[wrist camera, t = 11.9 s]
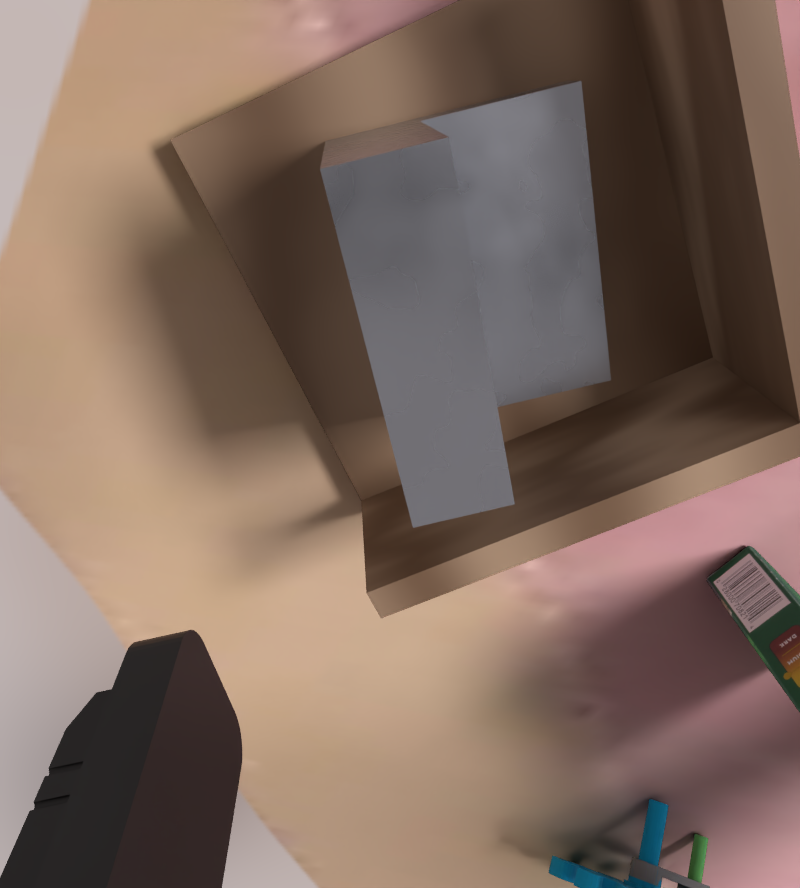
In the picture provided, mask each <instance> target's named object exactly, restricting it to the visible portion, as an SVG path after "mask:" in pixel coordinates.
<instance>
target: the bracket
mask: <svg viewBox="0 0 800 888" xmlns="http://www.w3.org/2000/svg"><path fill="white" fill-rule="evenodd" d="M320 171H321V175H322V179H323V182H324V186H325V190H326V194H327V198H328V202H329V206H330V209H331V213H332V217H333V221H334V225H335V229H336V233H337V236H338V240H339V244H340V248H341V252H342V256H343V260H344V263H345V267H346V271H347V275H348V279H349V283H350V287H351V291H352V294H353V298H354V302H355V306H356V310H357V314H358V318H359V321H360V325H361V329H362V333H363V337H364V341H365V345H366V348H367V352H368V356H369V360H370V364H371V368H372V372H373V375H374V379H375V383H376V387H377V391H378V395H379V399H380V402H381V406H382V410H383V414H384V418H385V422H386V426H387V429H388V433H389V437H390V441H391V445H392V449H393V453H394V456H395V460H396V464H397V468H398V472H399V476H400V480H401V483H402V487H403V491H404V495H405V499H406V503H407V507H408V511H409V514H410V518H411V522H412V526H413V528H415V527H419V526H423V525H428V524H432V523H436V522H440V521H445V520H449V519H453V518H458V517H462V516H466V515H471V514H475V513H479V512H484V511H488V510H492V509H497V508H501V507H505V506H510V505H514V504H515V502H514V497H513V491H512V486H511V480H510V474H509V469H508V463H507V458H506V452H505V447H504V441H503V435H502V430H501V424H500V419H499V413H498V408H497V407H500V406H504V405H509V404H513V403H517V402H521V401H525V400H530V399H534V398H538V397H542V396H547V395H551V394H555V393H559V392H564V391H568V390H572V389H576V388H581V387H585V386H589V385H593V384H597V383H602V382H606V381H610V380H611V374H610V364H609V354H608V344H607V334H606V324H605V314H604V304H603V293H602V283H601V273H600V263H599V253H598V243H597V233H596V223H595V213H594V203H593V193H592V183H591V173H590V163H589V153H588V143H587V132H586V122H585V112H584V102H583V92H582V82H581V81H564V82H560V83H556V84H552V85H548V86H544V87H540V88H536V89H532V90H528V91H524V92H520V93H516V94H512V95H508V96H504V97H500V98H496V99H492V100H488V101H484V102H480V103H476V104H472V105H468V106H464V107H460V108H456V109H452V110H448V111H444V112H440V113H436V114H432V115H428V116H424V117H420V118H416V119H412V120H408V121H404V122H400V123H396V124H392V125H388V126H384V127H380V128H376V129H372V130H368V131H364V132H360V133H356V134H352V135H348V136H344V137H340V138H336V139H332V140H328V141H325V145H324V151H323V156H322V161H321V167H320Z"/></svg>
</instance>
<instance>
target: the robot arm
mask: <svg viewBox="0 0 800 888" xmlns="http://www.w3.org/2000/svg"><path fill="white" fill-rule="evenodd" d="M241 765H242V740H241V733H240V727H239V723H238V720H237V716H236V714H235V711H234V709H233V707H232V705H231V702H230V700H229V698H228V696H227V693H226V691H225V689H224V687H223V685H222V682H221V680H220V678H219V676H218V673H217V671H216V669H215V667H214V665H213V662H212V660H211V658H210V656H209V653H208V651H207V649H206V647H205V645H204V642H203V640H202V639H201V637H200V636H199V634H198V633H197V632H195V631H194V630H189V631H184V632H179V633H175V634H170V635H166V636H161V637H156V638H152V639H147V640H143V641H138V642H135V643H133V644H132V645H131V646H130V647H129V648H128V650H127V652H126V655H125V657H124V660H123V662H122V665H121V667H120V670H119V673H118V675H117V678H116V680H115V683H114V685H113V688H112V689H111V690H106V691H102V692H97V693H96V694H95V695H94V696H93V698H92V699H91V700H90V701H89V702H88V703H87V705H86V706H85V707H84V708H83V709H82V711H81V712H80V713H79V714H78V715H77V717H76V718H75V719H74V720H73V721H72V722H71V724H70V725H69V726H68V727H67V728H66V730H65V732H64V735H63V737H62V739H61V742H60V744H59V746H58V748H57V750H56V753H55V755H54V757H53V760H52V762H51V764H50V766H49V776H45V778H44V780H43V782H42V784H41V787H40V789H39V791H38V793H37V796H36V798H35V800H34V804H35V808H34V810H32V811H30V812H29V814H28V816H27V818H26V821H25V823H24V825H23V827H22V830H21V832H20V834H19V836H18V839H17V841H16V843H15V846H14V848H13V850H12V852H11V855H10V857H9V859H8V861H7V864H6V866H5V868H4V871H3V873H2V875H1V877H0V888H222V882H223V876H224V870H225V864H226V858H227V852H228V846H229V839H230V833H231V827H232V821H233V815H234V808H235V802H236V796H237V790H238V784H239V778H240V772H241Z"/></svg>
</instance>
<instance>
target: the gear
mask: <svg viewBox="0 0 800 888" xmlns="http://www.w3.org/2000/svg"><path fill="white" fill-rule="evenodd" d="M668 807H669V806H668V805H666V804H664V803H661V802H659V801H655V800H652V799H650V800H649V805H648V810H647V816H646V821H645V826H644V832H643V837H642V842H641V848H640V853H639V858H638V859H637V858H634V857H632V862H631V868H630V873H629V878H628V880H625V879H624V882H623V881H620V880H618V879H616V878H613V877H611V876H608V875H605V874H603V873H600V872H596V871H593V870H591V869H588V868H586V867H584V866H581V865H578V864H576V863H573V862H570V861H566V860H563V859H561V858H558V857H556V856H552V860H551V864H550V869H549V873H550V874H552V875H554V876H556V877H558V878H561V879H563V880H566V881H568V882H571V883H574V885H575V886H577V887H579V888H661V882H662V877H663V878H666V879H669V880H671V881H674V882H677V883H678V886H677V888H710V886H707V885H704V884H702V883H701V882H702V876H703V869H704V863H705V856H706V850H707V843H708V838H706V837H703V836H700V835H697V834H695V835H694V841H693V847H692V854H691V860H690V866H689V872H688V878H686V877H684V876H681V875H679V874H676V873H674V872H671V871H668V870H666V869H663V868H661V867H658V863H659V858H660V852H661V846H662V841H663V835H664V829H665V824H666V818H667V812H668Z"/></svg>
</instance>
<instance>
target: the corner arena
mask: <svg viewBox="0 0 800 888" xmlns="http://www.w3.org/2000/svg"><path fill="white" fill-rule="evenodd" d="M564 81H581V82H582V92H583V102H584V112H585V122H586V132H587V143H588V153H589V163H590V173H591V183H592V193H593V203H594V213H595V223H596V233H597V243H598V253H599V263H600V273H601V283H602V293H603V304H604V314H605V324H606V334H607V344H608V354H609V364H610V374H611V380H610V381H606V382H602V383H597V384H593V385H589V386H585V387H581V388H576V389H572V390H568V391H564V392H559V393H555V394H551V395H547V396H542V397H538V398H534V399H530V400H525V401H521V402H517V403H513V404H509V405H504V406H500V407H497V408H498V413H499V419H500V424H501V430H502V435H503V441H504V447H505V452H506V458H507V463H508V469H509V474H510V480H511V486H512V491H513V497H514V502H515V504H514V505H510V506H505V507H501V508H497V509H492V510H488V511H484V512H479V513H475V514H471V515H466V516H462V517H458V518H453V519H449V520H445V521H440V522H436V523H432V524H428V525H423V526H419V527H415V528H413V526H412V522H411V518H410V514H409V511H408V507H407V503H406V499H405V495H404V491H403V487H402V483H401V480H400V476H399V472H398V468H397V464H396V460H395V456H394V453H393V449H392V445H391V441H390V437H389V433H388V429H387V426H386V422H385V418H384V414H383V410H382V406H381V402H380V399H379V395H378V391H377V387H376V383H375V379H374V375H373V372H372V368H371V364H370V360H369V356H368V352H367V348H366V345H365V341H364V337H363V333H362V329H361V325H360V321H359V318H358V314H357V310H356V306H355V302H354V298H353V294H352V291H351V287H350V283H349V279H348V275H347V271H346V267H345V263H344V260H343V256H342V252H341V248H340V244H339V240H338V236H337V233H336V229H335V225H334V221H333V217H332V213H331V209H330V206H329V202H328V198H327V194H326V190H325V186H324V182H323V179H322V175H321V171H320V167H321V161H322V156H323V151H324V145H325V141H328V140H332V139H336V138H340V137H344V136H348V135H352V134H356V133H360V132H364V131H368V130H372V129H376V128H380V127H384V126H388V125H392V124H396V123H400V122H404V121H408V120H412V119H416V118H420V117H424V116H428V115H432V114H436V113H440V112H444V111H448V110H452V109H456V108H460V107H464V106H468V105H472V104H476V103H480V102H484V101H488V100H492V99H496V98H500V97H504V96H508V95H512V94H516V93H520V92H524V91H528V90H532V89H536V88H540V87H544V86H548V85H552V84H556V83H560V82H564ZM171 142H172V144H173V146H174V148H175V150H176V152H177V154H178V156H179V157H180V159H181V161H182V163H183V165H184V167H185V169H186V171H187V173H188V174H189V176H190V178H191V180H192V182H193V184H194V186H195V188H196V190H197V191H198V193H199V195H200V197H201V199H202V201H203V203H204V205H205V207H206V208H207V210H208V212H209V214H210V216H211V218H212V220H213V222H214V223H215V225H216V227H217V229H218V231H219V233H220V235H221V237H222V239H223V240H224V242H225V244H226V246H227V248H228V250H229V252H230V254H231V256H232V257H233V259H234V261H235V263H236V265H237V267H238V269H239V271H240V273H241V274H242V276H243V278H244V280H245V282H246V284H247V286H248V288H249V289H250V291H251V293H252V295H253V297H254V299H255V301H256V303H257V305H258V306H259V308H260V310H261V312H262V314H263V316H264V318H265V320H266V322H267V323H268V325H269V327H270V329H271V331H272V333H273V335H274V337H275V339H276V340H277V342H278V344H279V346H280V348H281V350H282V352H283V354H284V355H285V357H286V359H287V361H288V363H289V365H290V367H291V369H292V371H293V372H294V374H295V376H296V378H297V380H298V382H299V384H300V386H301V388H302V389H303V391H304V393H305V395H306V397H307V399H308V401H309V403H310V405H311V406H312V408H313V410H314V412H315V414H316V416H317V418H318V420H319V421H320V423H321V425H322V427H323V429H324V431H325V433H326V435H327V437H328V438H329V440H330V442H331V444H332V446H333V448H334V450H335V452H336V454H337V455H338V457H339V459H340V461H341V463H342V465H343V467H344V469H345V471H346V472H347V474H348V476H349V478H350V480H351V482H352V484H353V486H354V488H355V489H356V491H357V493H358V495H359V497H360V499H361V501H362V519H363V537H364V554H365V572H366V590H367V594H368V596H369V598H370V600H371V602H372V603H373V605H374V607H375V609H376V610H377V612H378V614H379V616H380V617H381V618H383V617H386V616H389V615H391V614H394V613H396V612H399V611H401V610H404V609H407V608H409V607H412V606H414V605H417V604H420V603H422V602H425V601H427V600H430V599H433V598H435V597H438V596H440V595H443V594H445V593H448V592H451V591H453V590H456V589H458V588H461V587H464V586H466V585H469V584H471V583H474V582H477V581H479V580H482V579H484V578H487V577H489V576H492V575H495V574H497V573H500V572H502V571H505V570H508V569H510V568H513V567H515V566H518V565H521V564H523V563H526V562H528V561H531V560H533V559H536V558H539V557H541V556H544V555H546V554H549V553H552V552H554V551H557V550H559V549H562V548H565V547H567V546H570V545H572V544H575V543H577V542H580V541H583V540H585V539H588V538H590V537H593V536H596V535H598V534H601V533H603V532H606V531H609V530H611V529H614V528H616V527H619V526H621V525H624V524H627V523H629V522H632V521H634V520H637V519H640V518H642V517H645V516H647V515H650V514H653V513H655V512H658V511H660V510H663V509H665V508H668V507H671V506H673V505H676V504H678V503H681V502H684V501H686V500H689V499H691V498H694V497H697V496H699V495H702V494H704V493H707V492H709V491H712V490H715V489H717V488H720V487H722V486H725V485H728V484H730V483H733V482H735V481H738V480H741V479H743V478H746V477H748V476H751V475H753V474H756V473H759V472H761V471H764V470H766V469H769V468H772V467H774V466H777V465H779V464H782V463H785V462H787V461H790V460H792V459H795V458H797V457H800V158H799V151H798V145H797V138H796V132H795V126H794V119H793V113H792V106H791V100H790V93H789V87H788V80H787V74H786V68H785V61H784V55H783V48H782V42H781V35H780V29H779V22H778V16H777V9H776V3H775V0H459V1H457V2H455V3H453V4H451V5H449V6H447V7H445V8H442V9H440V10H438V11H436V12H434V13H432V14H430V15H428V16H426V17H424V18H422V19H420V20H418V21H416V22H413V23H411V24H409V25H407V26H405V27H403V28H401V29H399V30H397V31H395V32H393V33H391V34H389V35H387V36H384V37H382V38H380V39H378V40H376V41H374V42H372V43H370V44H368V45H366V46H364V47H362V48H360V49H358V50H355V51H353V52H351V53H349V54H347V55H345V56H343V57H341V58H339V59H337V60H335V61H333V62H331V63H329V64H326V65H324V66H322V67H320V68H318V69H316V70H314V71H312V72H310V73H308V74H306V75H304V76H302V77H300V78H297V79H295V80H293V81H291V82H289V83H287V84H285V85H283V86H281V87H279V88H277V89H275V90H273V91H271V92H268V93H266V94H264V95H262V96H260V97H258V98H256V99H254V100H252V101H250V102H248V103H246V104H244V105H242V106H239V107H237V108H235V109H233V110H231V111H229V112H227V113H225V114H223V115H221V116H219V117H217V118H215V119H213V120H211V121H208V122H206V123H204V124H202V125H200V126H198V127H196V128H194V129H192V130H190V131H188V132H186V133H184V134H182V135H179V136H177V137H175V138H173V139H171Z"/></svg>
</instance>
